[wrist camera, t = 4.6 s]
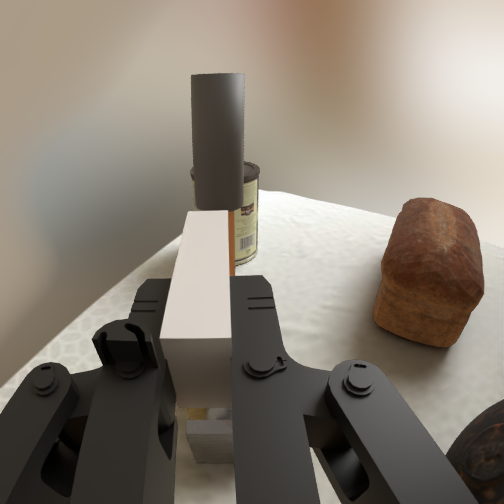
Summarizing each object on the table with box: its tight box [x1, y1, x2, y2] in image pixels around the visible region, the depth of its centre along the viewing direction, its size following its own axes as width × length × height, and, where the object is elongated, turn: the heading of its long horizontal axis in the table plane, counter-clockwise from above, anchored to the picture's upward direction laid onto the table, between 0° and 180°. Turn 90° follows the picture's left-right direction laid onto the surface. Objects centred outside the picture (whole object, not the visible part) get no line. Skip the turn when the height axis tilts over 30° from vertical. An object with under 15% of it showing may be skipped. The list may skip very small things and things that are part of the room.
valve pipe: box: [186, 407, 234, 463], centre depth 28 cm, size 18×7×9 cm, turn 4°
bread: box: [373, 198, 484, 347], centre depth 42 cm, size 14×28×12 cm, turn 149°
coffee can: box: [190, 161, 260, 266], centre depth 50 cm, size 10×10×14 cm
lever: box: [191, 73, 245, 276], centre depth 20 cm, size 3×3×18 cm
